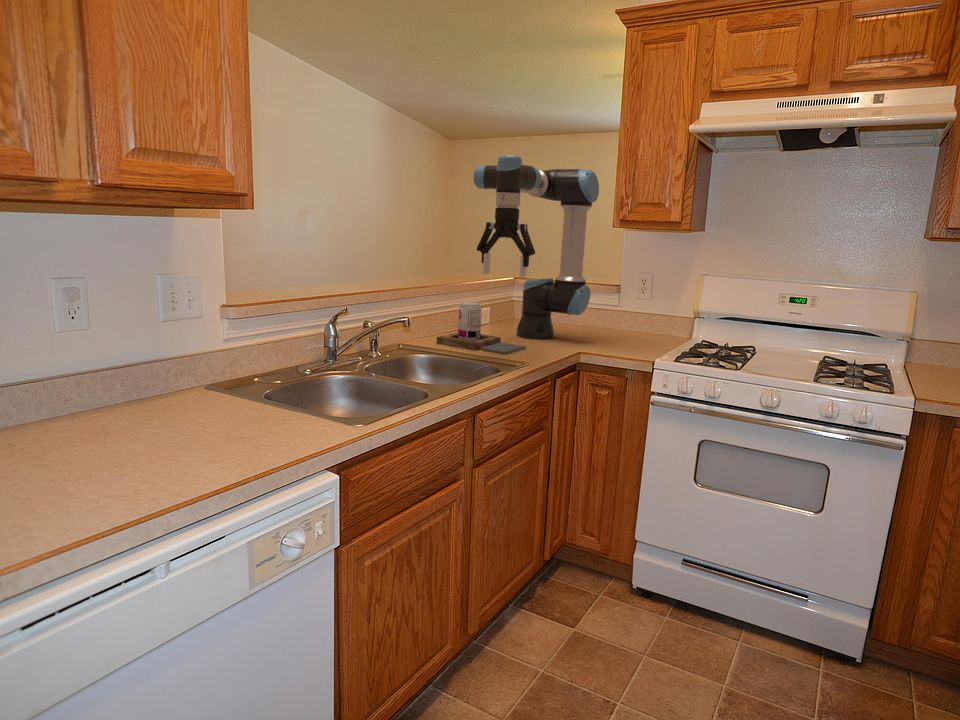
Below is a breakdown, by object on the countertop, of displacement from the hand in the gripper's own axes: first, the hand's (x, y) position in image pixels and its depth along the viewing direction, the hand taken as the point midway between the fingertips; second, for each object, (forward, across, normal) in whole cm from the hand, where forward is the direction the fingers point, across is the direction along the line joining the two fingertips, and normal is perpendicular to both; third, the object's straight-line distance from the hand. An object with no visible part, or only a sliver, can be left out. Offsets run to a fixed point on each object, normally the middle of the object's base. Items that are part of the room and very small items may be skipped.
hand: (504, 275), depth 201 cm
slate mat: (+28, -8, +16) cm, 33 cm away
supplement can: (+28, -23, +16) cm, 40 cm away
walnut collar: (+28, -23, +16) cm, 40 cm away
